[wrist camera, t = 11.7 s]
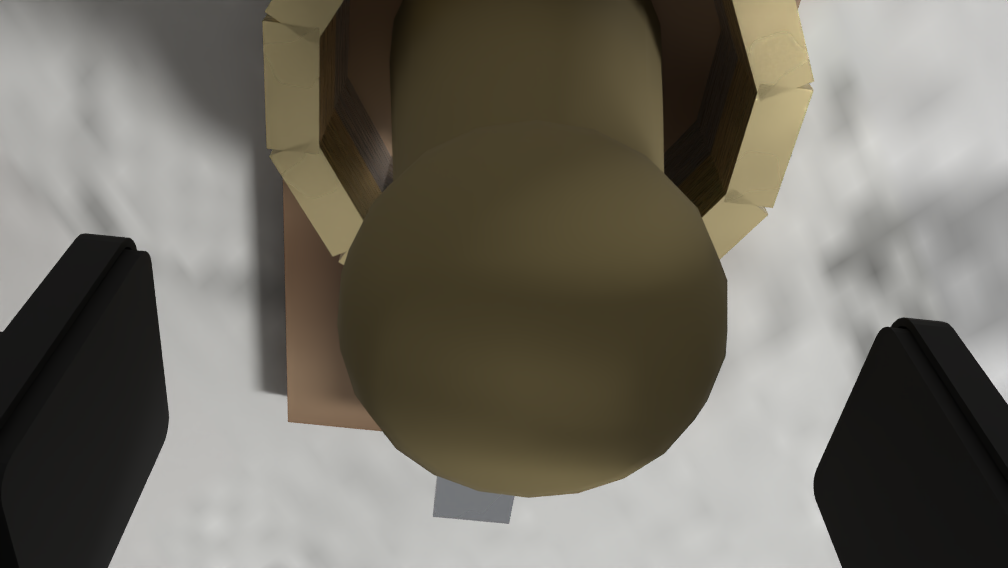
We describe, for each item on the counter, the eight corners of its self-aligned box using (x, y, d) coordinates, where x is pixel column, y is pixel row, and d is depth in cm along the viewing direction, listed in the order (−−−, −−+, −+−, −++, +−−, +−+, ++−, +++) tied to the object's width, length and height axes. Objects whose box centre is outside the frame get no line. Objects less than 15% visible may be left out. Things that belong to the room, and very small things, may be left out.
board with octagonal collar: (651, 434, 27) (655, 458, 27) (295, 399, 27) (288, 422, 26) (989, -669, 14) (1019, -689, 13) (276, -798, 13) (260, -829, 12)
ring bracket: (643, 442, 26) (658, 537, 23) (305, 408, 26) (278, 502, 23) (969, -637, 13) (1093, -720, 10) (297, -757, 13) (232, -882, 10)
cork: (710, -23, 18) (895, 274, 9) (600, 213, 22) (659, 601, 13) (432, -125, 17) (342, 101, 8) (361, 140, 21) (240, 506, 12)
